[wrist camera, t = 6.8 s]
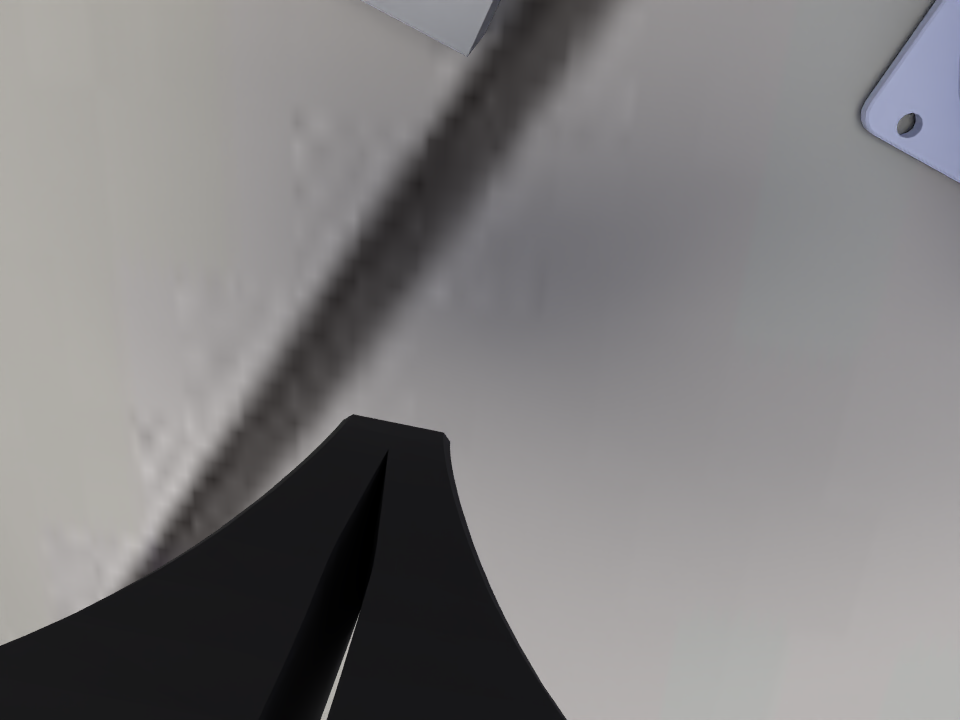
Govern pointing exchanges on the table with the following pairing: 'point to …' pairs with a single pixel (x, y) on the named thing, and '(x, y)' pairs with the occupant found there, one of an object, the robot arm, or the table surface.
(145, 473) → the table surface
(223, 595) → the robot arm
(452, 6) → the key panel
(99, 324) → the table surface
